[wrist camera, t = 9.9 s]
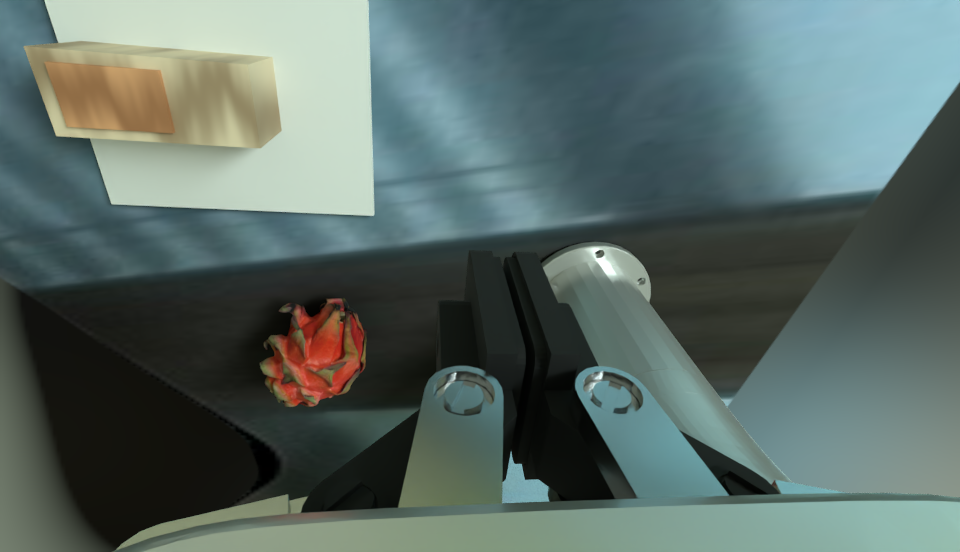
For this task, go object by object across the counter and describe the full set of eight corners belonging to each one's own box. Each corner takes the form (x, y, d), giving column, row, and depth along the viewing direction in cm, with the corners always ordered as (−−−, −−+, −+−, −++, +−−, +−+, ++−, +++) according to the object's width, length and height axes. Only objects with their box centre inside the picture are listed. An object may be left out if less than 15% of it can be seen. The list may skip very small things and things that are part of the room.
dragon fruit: (291, 360, 48) (348, 268, 45) (348, 416, 46) (411, 323, 43) (221, 382, 40) (284, 271, 37) (285, 450, 38) (357, 338, 35)
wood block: (258, 149, 30) (53, 137, 28) (281, 130, 34) (105, 119, 33) (246, 65, 27) (19, 46, 26) (272, 56, 32) (81, 40, 30)
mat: (374, 213, 39) (373, 215, 38) (116, 201, 36) (111, 204, 36) (367, -45, 30) (366, -46, 29) (23, -85, 27) (15, -86, 27)
